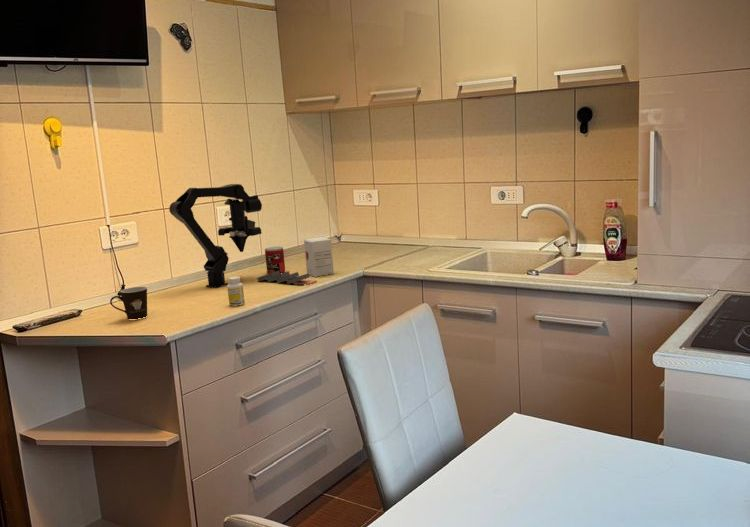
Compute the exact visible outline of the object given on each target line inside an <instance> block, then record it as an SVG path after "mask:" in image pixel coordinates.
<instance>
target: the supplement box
mask: <svg viewBox="0 0 750 527" xmlns="http://www.w3.org/2000/svg"><path fill="white" fill-rule="evenodd" d="M303 246H304V255H305V266H306V274H308V273H309V276H311V277H313V276H314V277H313V278H318V277H317V276H319V277H323V276H322V275H325V276H329V275H328V274H331V275H335V273H334V271H335V269H334V258H333V245H332V239H331V238H327V237H324V236H320V237H314V238H307V239H303Z"/></svg>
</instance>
